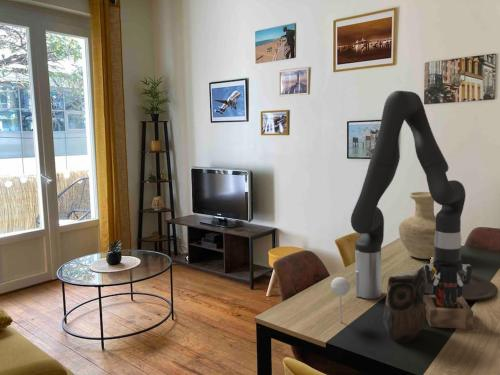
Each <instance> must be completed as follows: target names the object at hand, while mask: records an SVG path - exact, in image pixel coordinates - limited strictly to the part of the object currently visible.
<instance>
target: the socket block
mask: <svg viewBox="0 0 500 375" xmlns="http://www.w3.org/2000/svg"><path fill="white" fill-rule="evenodd" d="M423 301H424V303H425V304H426V306H425V308H426V311H427V312H426V320H427V323H428V325H429V326H430V328H449V329H465V330H466V329H467V330H473V329H474V327H473V326H474V325H473V324H474V323H473V322H474V311H473V309H472V308H471V307H470V305H469V304H468V302H467V301H466V299H465V298H464V296H463V295H462V296H460V297H457V308H436V307H437V297H435V295H433V294H424V297H423Z"/></svg>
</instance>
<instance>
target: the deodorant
mask: <svg viewBox="0 0 500 375" xmlns="http://www.w3.org/2000/svg"><path fill="white" fill-rule="evenodd" d="M439 273H440V280H439V282H438V284H437V285H438V297H437V307H436V308H457V290H458V282H457V273H458V274H459V272H458V266H447V265H439V271H438V272H437V275H438V274H439Z"/></svg>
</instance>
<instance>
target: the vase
mask: <svg viewBox="0 0 500 375" xmlns="http://www.w3.org/2000/svg"><path fill="white" fill-rule="evenodd" d="M409 197H410V199H412V200H414V202H415V207H414V208H415V210H414V211H415V212H414V215H413V216H410V217H408V218H406V219H404V220H403V221H401V223H400V224H399V226H398V235H399V237H400V241H401V243H402V244H403V246H404V247H405V249H406V251H407V254H408V255H409V256H411V257H413V258H416V259H423V260H431V259H430V258H431V257H434V247H435V244H434V240H435V231H436V214H435V211H434V210H435V209H434V207H435V201H434V199H433V198H432V196H431V194H430V191H416V192H411V193H409Z"/></svg>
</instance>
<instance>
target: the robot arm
mask: <svg viewBox="0 0 500 375" xmlns="http://www.w3.org/2000/svg"><path fill="white" fill-rule="evenodd" d="M404 122H405V123H406V124H407V125H408V127H409V128H410V131H411V133H412V137H413V141H414V149H415V154H416V158H417V160H418V161H419V164H420V166H421V168H422V170H423V173H425V176H426V177H425V178H426V181H427V182H426V183H427V187H428V192H430V194H431V196H432V198H433V199H434V203H436V204H438V205H439V206H440V205H441V209H440V210H439V211H438V212H437V213H436V214H435V217H436V231H435V240H434V244H435V247H434V258H433V260H434V261H433V262H432V263H427V262H424V263H423V270H424V277H425V282H426V283H427V284H430V285H431V293H432V295H435V297H438V285H437V284H438V282H439V280H440V273H439V274H438V275H437V272H438V271H439V265H447V266H458V273H457V282H458V290H457V297H460V296H462V297H463V286H465V285H470V282H471V277H472V271H473V267H472V265H471V264H469V263H466V264H463V263H462V234H461V224H462V222H461V217H462V215H463V211H464V207H465V203H466V202H465V201H466V195H467V194H466V189H465V187H464V185H463V183H462V182H460V181H459V180H455V179H451V180H449V179H448V176H447V172H448V171H449V165H448V162H447V160H446V158H445V156H444V155H443V152H442V151H441V148H440V147H439V145H438V142H437V140H436V139H435V138H436V137H435V135H434V134H433V133H434V132H433V131H432V127H431V126H430V123H429V119H428V117H427V113H426V110H425V107H424V103H423V101H422V98H421V97H420V96H419V94H418V93H416V92H413V91H407V90H395V91H393V92H391V93H390V94H389V95H388V96H387V97H386V99H385V102H384V104H383V110H382V115H381V121H380V125H379V130H378V133H377V137H376V140H375V145H374V148H373V151H372V154H371V157H370V160H369V163H368V167H367V170H366V174H365V178H364V181H363V182H362V183H363V184H362V187H361V190H360V193H359V196H358V199H357V201H356V203H355V206H354V208H353V210H352V213H351V216H350V225H351V228H352V229H353V231H354V232H356V233H357V234H359V236H358V238H357V239H356V241H355V243H354V251H355V253H354V254H355V255H354V257H355V258H354V260H355V261H354V262H355V268H354V270H355V272H354V274H355V275H354V276H355V279H354V280H355V281H354V282H355V297H359V298H363V299H370V300H374V299H379V298H380V297H381V296H382V245H383V242H384V235H385V233H384V232H385V217H384V213H383V212H382V210H381V209H380V208H379V207H378V205H379V202H380V200H381V198H382V196H383V195H384V193H385V192H386V191H387V190H388V188H389V186H390V185H391V184H392V181H393V180H394V177H395V176H396V172H397V170H398V166H399V164H400V154H401V153H400V146H399V145H400V144H399V138H400V134H401V133H400V132H401V130H402V127H403V124H404ZM433 269H434V270H435V272H434V275H433V278H431V271H432V270H433ZM461 270H463V271H464V273H463V279H461V277H460V274H459V272H460V271H461Z"/></svg>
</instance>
